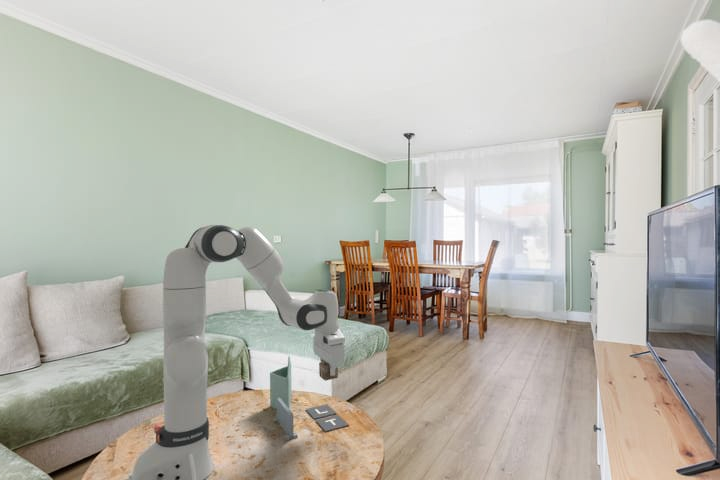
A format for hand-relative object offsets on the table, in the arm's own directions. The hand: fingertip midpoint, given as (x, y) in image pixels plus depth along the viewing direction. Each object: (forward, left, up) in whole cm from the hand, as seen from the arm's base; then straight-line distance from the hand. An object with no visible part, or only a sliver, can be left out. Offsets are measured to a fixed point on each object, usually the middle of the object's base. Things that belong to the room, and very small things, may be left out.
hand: (328, 372), depth 135 cm
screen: (-15, +4, -18) cm, 24 cm away
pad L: (+1, +9, -18) cm, 21 cm away
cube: (0, 0, -2) cm, 2 cm away
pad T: (+1, -1, -18) cm, 18 cm away
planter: (-11, +23, -19) cm, 32 cm away
